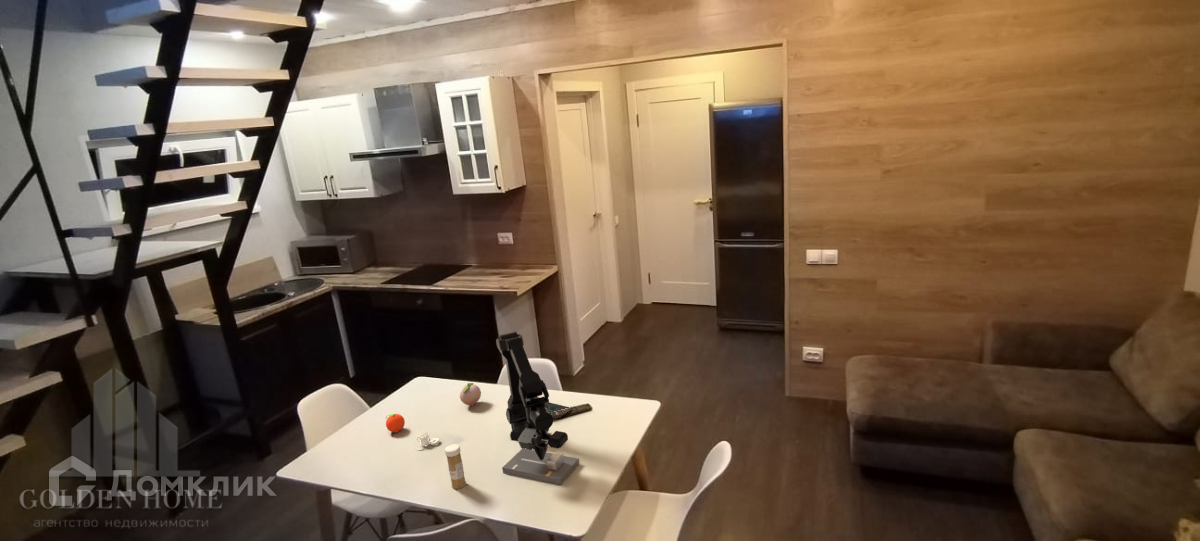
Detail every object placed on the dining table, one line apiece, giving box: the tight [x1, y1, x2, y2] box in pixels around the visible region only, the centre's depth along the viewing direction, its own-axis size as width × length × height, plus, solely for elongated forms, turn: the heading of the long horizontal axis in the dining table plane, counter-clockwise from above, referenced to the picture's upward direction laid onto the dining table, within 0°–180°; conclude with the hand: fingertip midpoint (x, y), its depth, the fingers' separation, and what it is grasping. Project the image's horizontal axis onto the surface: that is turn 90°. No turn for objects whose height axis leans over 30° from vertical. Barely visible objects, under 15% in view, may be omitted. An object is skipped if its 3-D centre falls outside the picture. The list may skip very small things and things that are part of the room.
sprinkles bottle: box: [444, 443, 467, 490], centre depth 183 cm, size 5×5×14 cm
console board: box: [501, 448, 580, 486], centre depth 188 cm, size 22×12×2 cm, turn 63°
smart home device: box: [545, 401, 570, 417], centre depth 228 cm, size 8×2×20 cm
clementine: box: [385, 413, 406, 433], centre depth 224 cm, size 8×7×7 cm
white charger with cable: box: [416, 433, 441, 447], centre depth 211 cm, size 9×8×4 cm
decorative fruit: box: [459, 382, 482, 406], centre depth 238 cm, size 9×8×10 cm
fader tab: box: [547, 451, 564, 470], centre depth 185 cm, size 3×5×3 cm, turn 153°
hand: (541, 459), depth 188 cm, fingers closed
